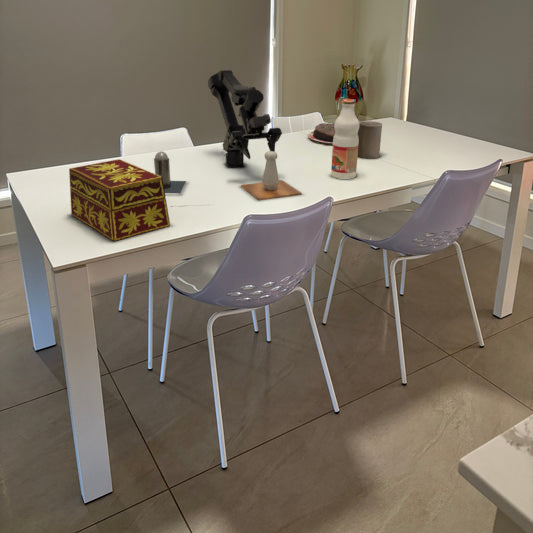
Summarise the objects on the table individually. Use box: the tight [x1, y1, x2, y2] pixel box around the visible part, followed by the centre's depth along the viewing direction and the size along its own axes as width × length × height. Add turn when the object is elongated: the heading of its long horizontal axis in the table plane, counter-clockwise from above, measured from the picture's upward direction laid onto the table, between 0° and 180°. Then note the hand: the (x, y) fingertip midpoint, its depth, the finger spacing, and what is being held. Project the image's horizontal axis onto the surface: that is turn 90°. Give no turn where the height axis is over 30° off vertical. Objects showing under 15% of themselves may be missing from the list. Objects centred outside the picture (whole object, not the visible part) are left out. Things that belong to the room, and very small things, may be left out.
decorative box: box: [68, 158, 171, 242], centre depth 175 cm, size 28×19×15 cm
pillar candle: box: [357, 119, 383, 160], centre depth 245 cm, size 10×10×15 cm
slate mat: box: [164, 180, 187, 195], centre depth 206 cm, size 14×14×1 cm
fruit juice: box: [330, 98, 360, 180], centre depth 216 cm, size 9×9×28 cm
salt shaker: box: [261, 150, 280, 191], centre depth 203 cm, size 6×6×13 cm
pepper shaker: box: [153, 151, 172, 189], centre depth 204 cm, size 5×5×12 cm
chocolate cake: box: [307, 122, 335, 146], centre depth 274 cm, size 28×28×7 cm
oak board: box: [240, 179, 302, 201], centre depth 205 cm, size 16×16×1 cm
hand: (261, 157), depth 208 cm, fingers open, 9 cm apart
